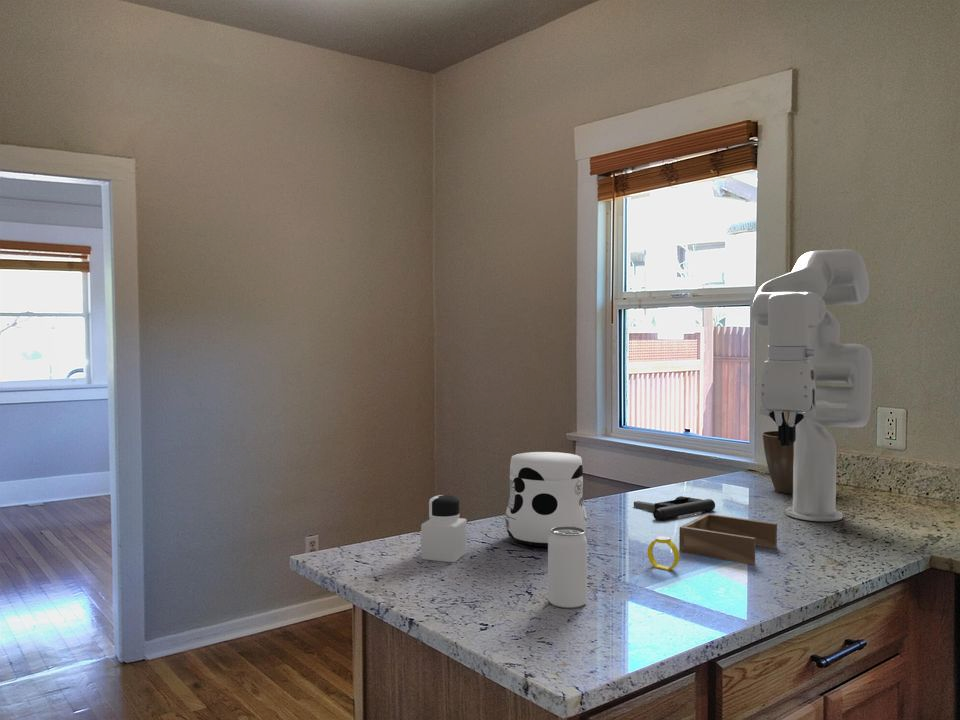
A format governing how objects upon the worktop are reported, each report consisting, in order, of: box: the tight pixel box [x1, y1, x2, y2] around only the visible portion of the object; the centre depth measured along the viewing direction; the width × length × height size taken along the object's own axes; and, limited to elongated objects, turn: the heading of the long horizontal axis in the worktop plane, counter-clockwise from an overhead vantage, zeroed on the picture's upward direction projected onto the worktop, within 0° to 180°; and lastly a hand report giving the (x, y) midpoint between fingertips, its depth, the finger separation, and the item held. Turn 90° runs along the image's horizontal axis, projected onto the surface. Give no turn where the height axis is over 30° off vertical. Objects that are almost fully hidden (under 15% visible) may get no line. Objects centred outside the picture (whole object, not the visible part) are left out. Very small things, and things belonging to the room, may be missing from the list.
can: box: [547, 526, 588, 609], centre depth 130 cm, size 6×6×12 cm
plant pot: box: [761, 430, 794, 495], centre depth 219 cm, size 15×15×16 cm
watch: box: [647, 535, 680, 572], centre depth 148 cm, size 6×3×6 cm, turn 48°
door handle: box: [633, 496, 716, 521], centre depth 196 cm, size 3×20×16 cm
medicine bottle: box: [420, 494, 468, 564], centre depth 156 cm, size 7×7×12 cm
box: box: [678, 512, 778, 565], centre depth 161 cm, size 15×15×5 cm
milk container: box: [504, 451, 588, 547], centre depth 167 cm, size 17×17×18 cm
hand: (786, 444), depth 159 cm, fingers closed
